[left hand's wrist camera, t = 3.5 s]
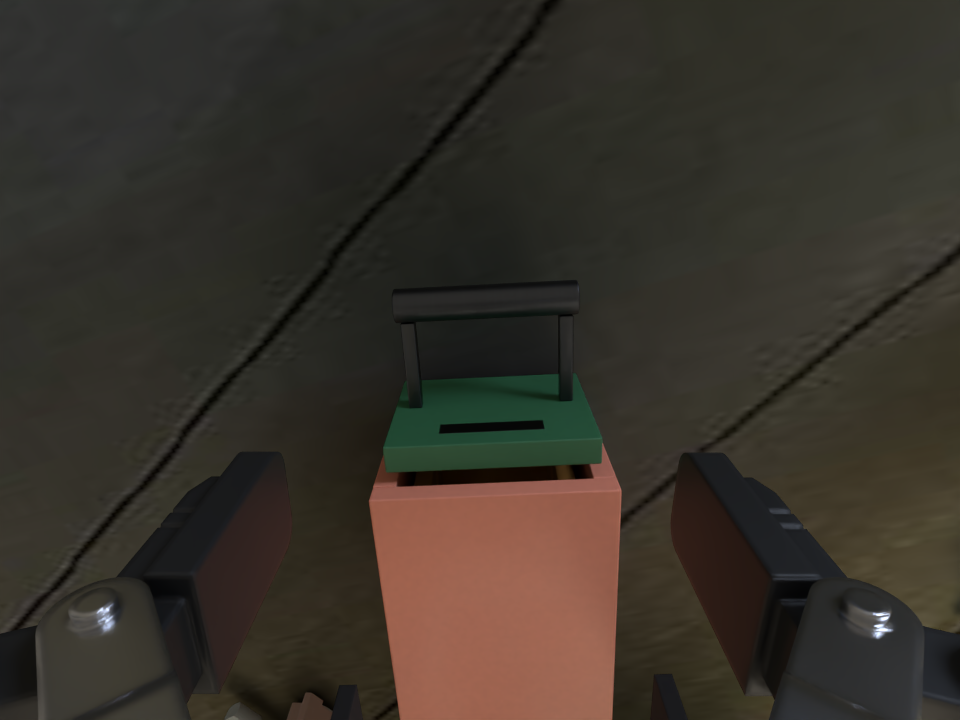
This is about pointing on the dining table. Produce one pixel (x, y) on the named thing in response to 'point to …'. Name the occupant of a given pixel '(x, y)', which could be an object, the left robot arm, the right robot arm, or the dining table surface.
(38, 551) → the dining table surface
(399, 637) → the cabinet
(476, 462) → the drawer
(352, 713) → the right robot arm
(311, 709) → the clamp
